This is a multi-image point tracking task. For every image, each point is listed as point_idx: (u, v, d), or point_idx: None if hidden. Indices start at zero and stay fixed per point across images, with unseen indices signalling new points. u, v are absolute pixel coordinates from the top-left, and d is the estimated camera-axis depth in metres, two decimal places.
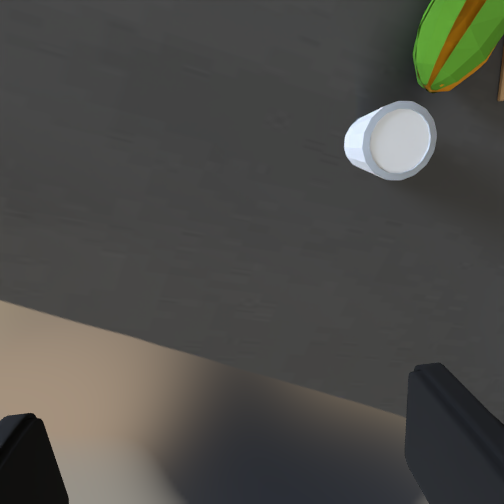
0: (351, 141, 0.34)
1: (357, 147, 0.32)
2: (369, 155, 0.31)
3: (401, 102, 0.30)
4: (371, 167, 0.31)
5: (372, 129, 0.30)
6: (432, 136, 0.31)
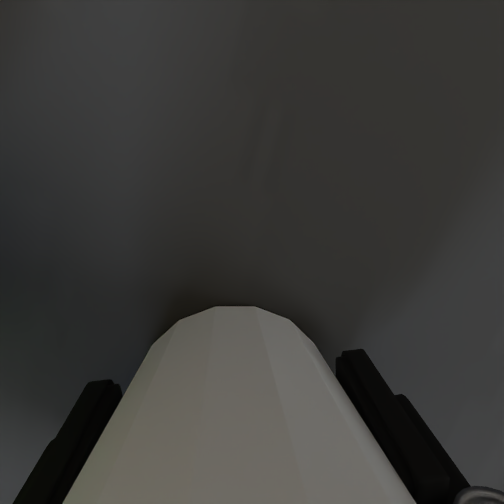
0: None
1: None
2: None
3: None
4: None
5: None
6: None
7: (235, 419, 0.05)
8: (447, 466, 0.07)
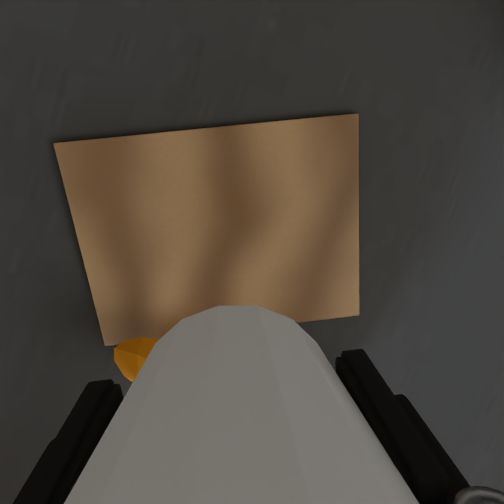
0: None
1: None
2: None
3: None
4: None
5: None
6: None
7: (238, 418, 0.05)
8: (447, 467, 0.07)
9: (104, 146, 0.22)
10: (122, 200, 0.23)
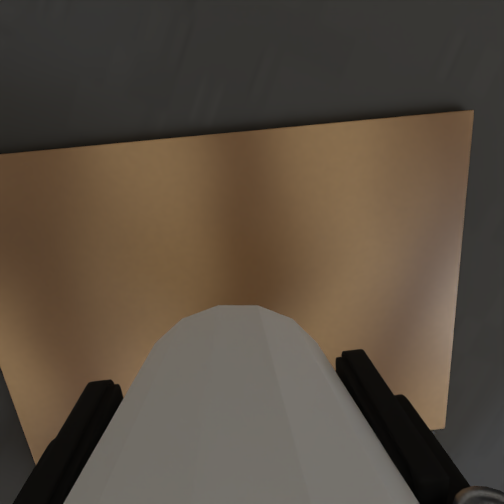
0: None
1: None
2: None
3: None
4: None
5: None
6: None
7: (237, 418, 0.05)
8: (447, 466, 0.07)
9: (21, 167, 0.12)
10: (58, 259, 0.14)
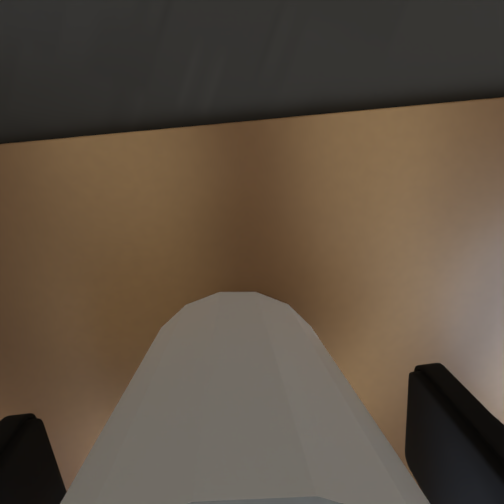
0: None
1: None
2: None
3: None
4: None
5: None
6: None
7: (238, 379, 0.06)
8: None
9: None
10: (1, 295, 0.10)
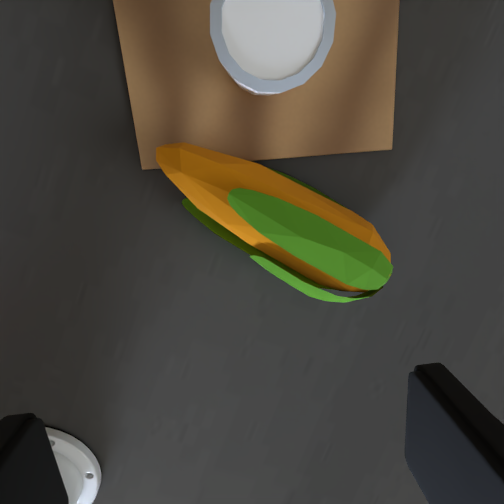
0: None
1: (276, 93, 0.21)
2: (292, 78, 0.19)
3: (212, 27, 0.18)
4: (311, 73, 0.19)
5: (253, 78, 0.19)
6: None
7: None
8: None
9: None
10: (166, 4, 0.24)
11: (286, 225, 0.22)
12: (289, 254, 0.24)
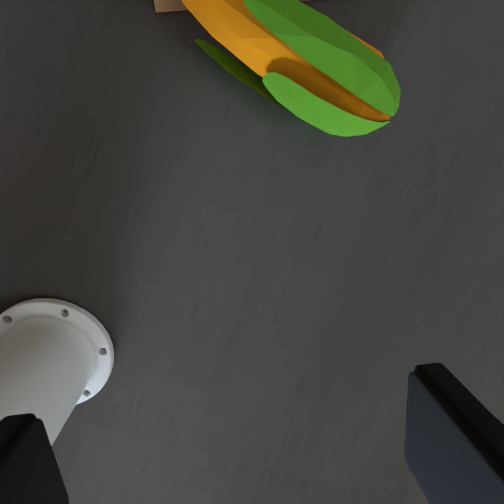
0: None
1: None
2: None
3: None
4: None
5: None
6: None
7: None
8: None
9: None
10: None
11: (299, 24, 0.23)
12: (301, 70, 0.25)
